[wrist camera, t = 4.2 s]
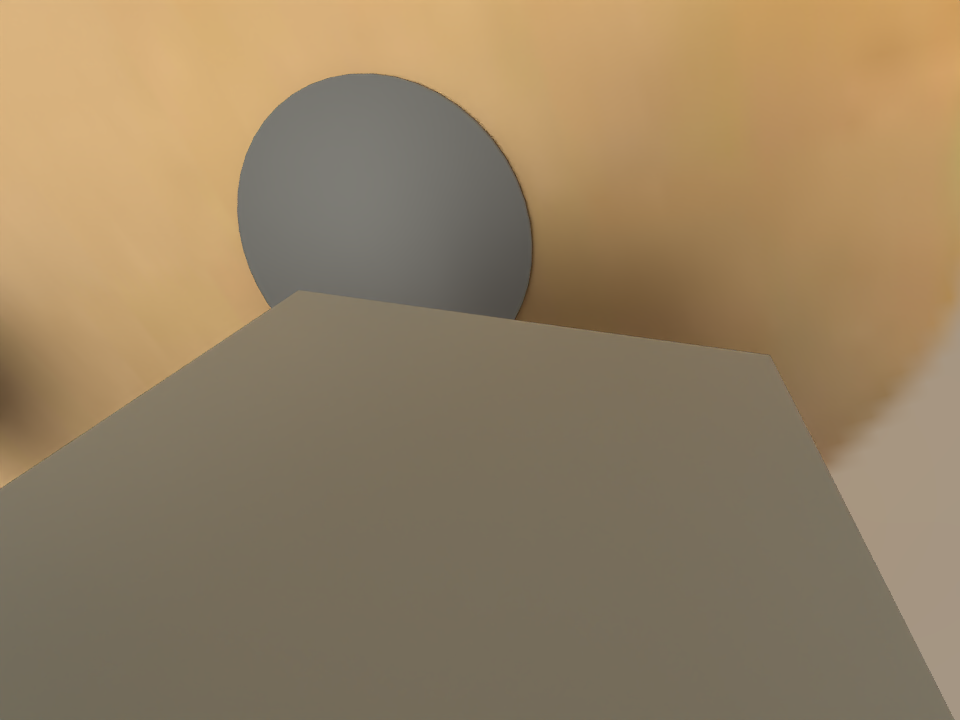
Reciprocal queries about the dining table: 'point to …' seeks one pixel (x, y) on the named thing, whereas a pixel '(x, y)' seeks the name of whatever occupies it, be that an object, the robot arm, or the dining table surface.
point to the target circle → (383, 201)
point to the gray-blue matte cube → (447, 537)
